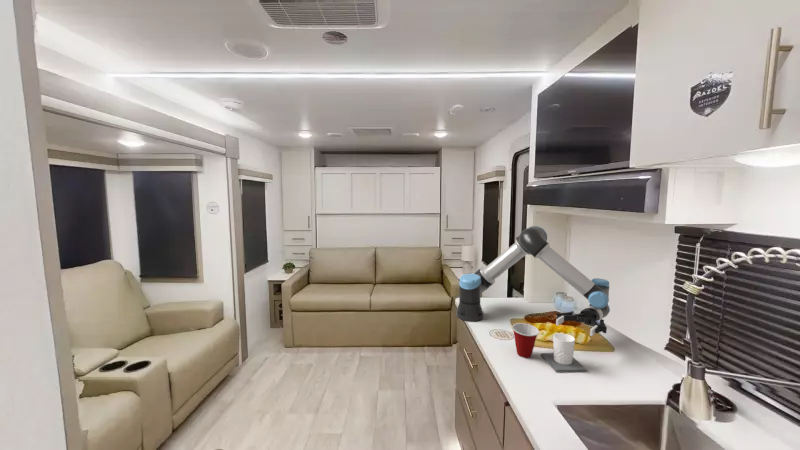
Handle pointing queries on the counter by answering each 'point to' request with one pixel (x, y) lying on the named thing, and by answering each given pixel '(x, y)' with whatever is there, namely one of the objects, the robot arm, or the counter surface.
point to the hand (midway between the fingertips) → (573, 327)
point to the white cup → (563, 348)
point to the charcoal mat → (563, 368)
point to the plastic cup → (524, 338)
